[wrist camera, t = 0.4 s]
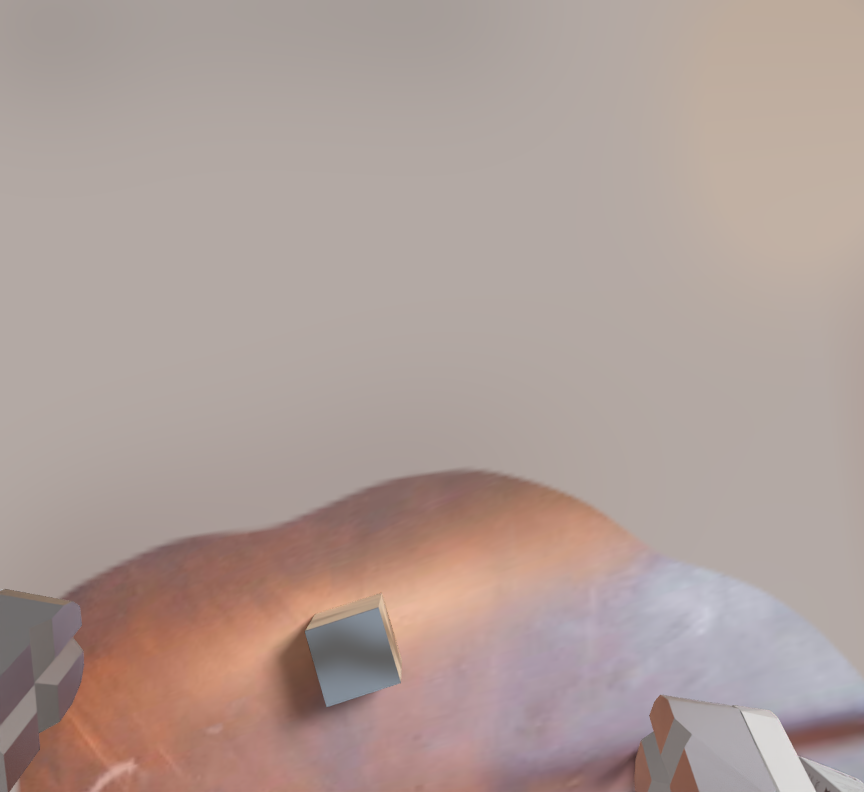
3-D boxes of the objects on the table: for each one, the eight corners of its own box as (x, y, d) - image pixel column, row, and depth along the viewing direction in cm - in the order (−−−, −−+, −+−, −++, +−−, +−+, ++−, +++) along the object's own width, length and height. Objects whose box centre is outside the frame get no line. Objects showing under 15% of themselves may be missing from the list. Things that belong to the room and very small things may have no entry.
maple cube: (401, 659, 59) (400, 682, 53) (335, 681, 59) (326, 707, 53) (381, 592, 60) (378, 607, 54) (315, 613, 60) (304, 631, 54)
